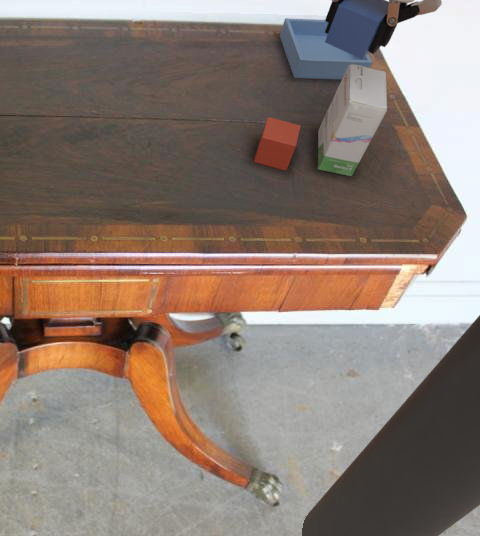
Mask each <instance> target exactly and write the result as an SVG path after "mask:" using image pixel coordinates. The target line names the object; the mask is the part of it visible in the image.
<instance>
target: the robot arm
mask: <svg viewBox="0 0 480 536" xmlns="http://www.w3.org/2000/svg"><path fill="white" fill-rule="evenodd" d="M343 1H344V0H331V3H330V6H329V9H328V12H327V13H326V14H327V15H326V17H325V19H324V20H325V21H326V22H328V25H327V28H326V30H325V33H327V34H328V33H329V30H330V27H331V25H332V22H333V19H334V17H335V14H336V12H337V9H338V6H339V5H340V4H341V3H342V2H343ZM388 2H389V5H388V13H387V16H386V18H385V19H384V20H383V21H382V23H381V24H380V26H379V28H378V30H377V33H376V35H375V37H374V39H373V42H372V44H371V46H370V48H369V53H368V54H372V55H374V54H375V53H376V52H377V51H378V50H379V49H380V48H381V47H383V48H386V47H387V45H388V44H389V43H390V41H391V38H392V36H393V35H394V32H395V30H396V28H397V26H398V24H400V23H403V22H405V21H408V20H411V19H413V18H415V17H418V16H423V15H426V14H430V13H435V12H437V10H438V9H439V8H440V7H441V6H442V5H443V4H442V3H443V1H442V0H420V1H415V0H388Z"/></svg>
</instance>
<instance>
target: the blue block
mask: <svg viewBox="0 0 480 536" xmlns="http://www.w3.org/2000/svg"><path fill="white" fill-rule="evenodd" d="M388 5H389V0H344V1H343V2H342V3H341V4H340V5H339V6H338V9H337V12H336V14H335V17H334V19H333V22H332V25H331V27H330V30H329V33H328V35H327V38H326V40H325V43H328V44H330V45H332V46H334V47H336V48H339V49H341V50H343V51H345V52H347V53H350V54H352V55H354V56H356V57H358V58H361V59H363V58H364V57H365V56H366V55H367V54H370V53H369V48H370V46H371V44H372V42H373V39H374V37H375V35H376V33H377V30H378V28H379V26H380V24H381V23H382V21H383V20H384V19H385V18H386V16H387V13H388Z"/></svg>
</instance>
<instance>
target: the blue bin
mask: <svg viewBox="0 0 480 536" xmlns="http://www.w3.org/2000/svg"><path fill="white" fill-rule="evenodd" d="M327 25H328V22H326V21H325V19H311V18H310V19H309V18H287V17H285V18H284V21H283V24H282V27H281V31H280V33H279V39H280V42H281V44H282V46H283V50H284V54H285V56H286V59H287V60H288V61H287V63H288V64H289V66H290V70H291V73H292V76H293V78H294V79H311V80H312V79H313V80H340V81H342V79H343V76H344V74H345V72H346V70H347V68H348V66H349V65H351V64H355V65H359V66H364V67H369V68H372V64H373V61H372V59H371V56H370V53H368V54H367V55H366V56H365V57H364V58H363V59H361V58H358V57H356V56H354V55H352V54H350V53H347V52H345V51H343V50H341V49H339V48H336V47H334V46H332V45H330V44H328V43H325V40H326V38H327V35H328V34H327V33H325V30H326V28H327Z"/></svg>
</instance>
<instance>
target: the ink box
mask: <svg viewBox="0 0 480 536" xmlns="http://www.w3.org/2000/svg"><path fill="white" fill-rule="evenodd" d="M387 94H388V93H387V72H386V70H382V69H377V68H372V67H370V68H369V67H364V66H359V65H355V64H351V65H349V66H348V68H347V70H346V72H345V74H344V76H343V79H342V80H340V83H339V85H338V87H337V89H336V92H335V94H334V96H333V98H332V100H331V102H330V105H329V106H328V109H327V111H326V113H325V114H324V115H325V116H324V117H323V120H322V122H321V124H320V126H319V128H318V131H317V132H318V133H317V134H318V137H317V139H318V140H317V167H316V169H317V170H318V171H324V172H328V173H334V174H338V175H342V176H347V177H352V176H353V175H354V173H355V171H356V169H357V167H358V165H359V164H360V162H361V159H362V158H363V156H364V155H365V152H366V151H367V149H368V147H369V145H370V143H371V141H372V140H373V137H374V136H375V134H376V132H377V130H378V129H379V126H380V125H381V123H382V121H383V119H384V117H385V115H386V113H387V112H388V100H387V99H388V98H387V97H388V96H387Z"/></svg>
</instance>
